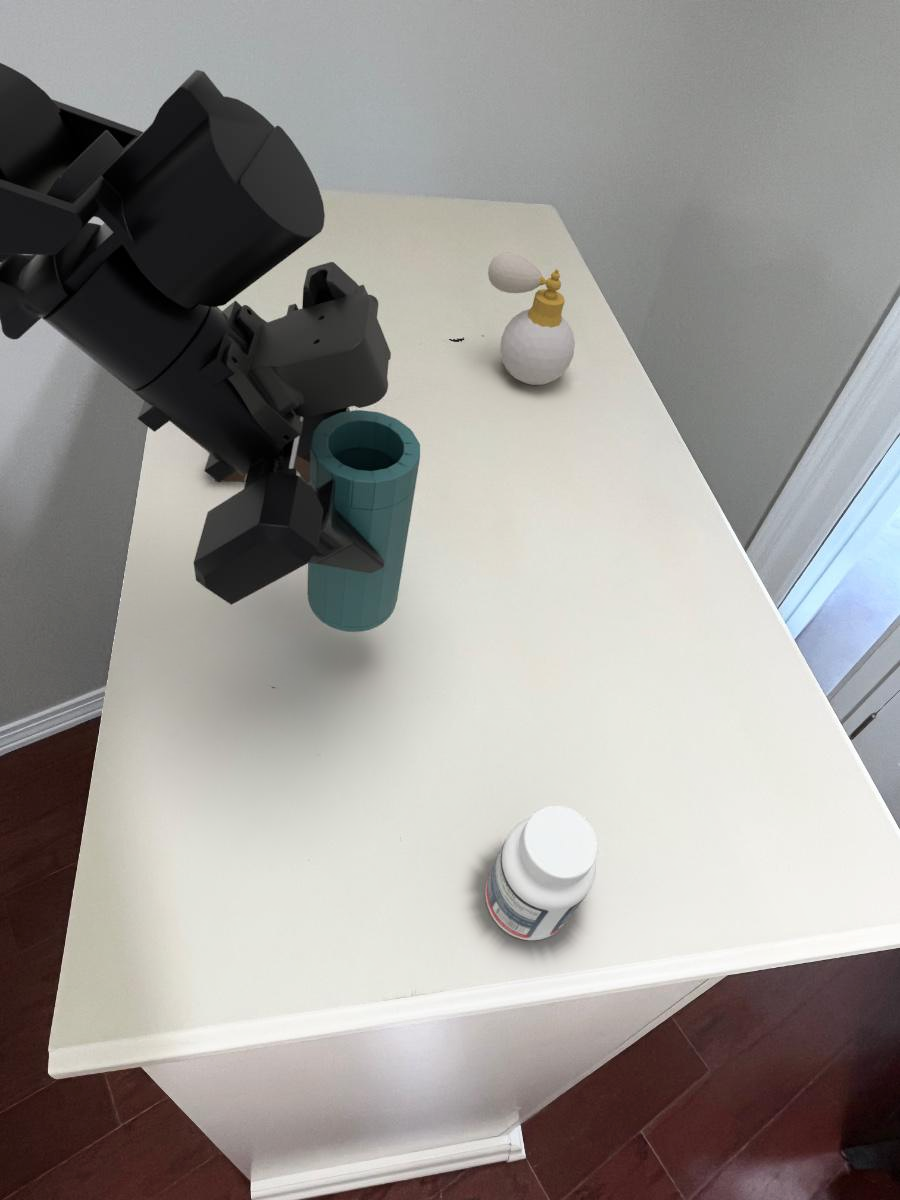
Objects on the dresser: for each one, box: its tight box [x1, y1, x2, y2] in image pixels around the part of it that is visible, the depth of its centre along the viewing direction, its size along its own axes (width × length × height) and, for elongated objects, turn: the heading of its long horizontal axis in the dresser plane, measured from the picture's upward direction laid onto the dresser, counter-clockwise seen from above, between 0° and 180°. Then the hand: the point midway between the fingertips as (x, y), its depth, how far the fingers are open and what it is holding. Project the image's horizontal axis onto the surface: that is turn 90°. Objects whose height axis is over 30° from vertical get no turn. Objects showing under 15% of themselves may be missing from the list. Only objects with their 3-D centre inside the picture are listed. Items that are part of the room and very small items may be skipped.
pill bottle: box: [485, 804, 599, 941], centre depth 45 cm, size 5×5×9 cm
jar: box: [306, 409, 421, 633], centre depth 47 cm, size 6×6×13 cm
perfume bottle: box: [487, 252, 576, 386], centre depth 78 cm, size 8×10×12 cm
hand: (381, 530), depth 47 cm, fingers closed on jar, 6 cm apart
